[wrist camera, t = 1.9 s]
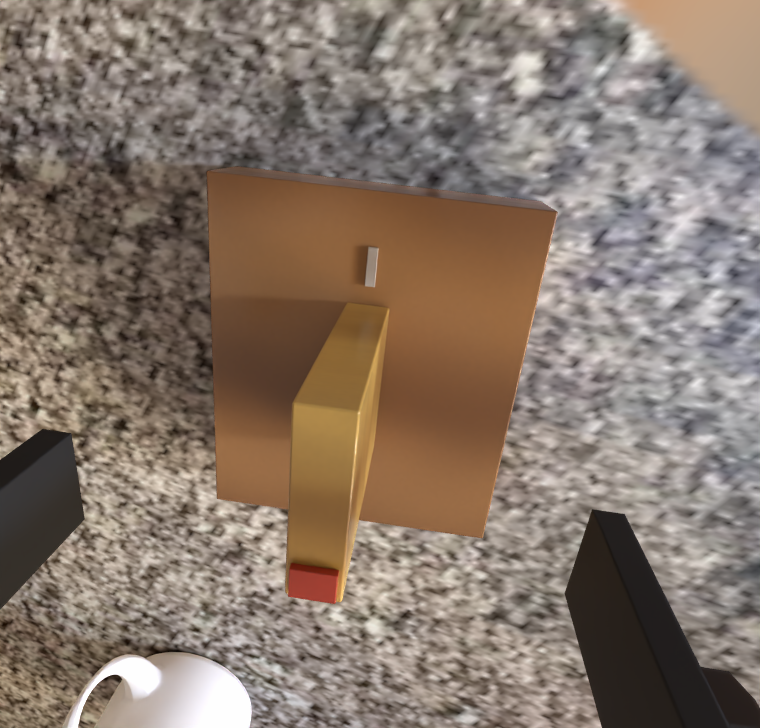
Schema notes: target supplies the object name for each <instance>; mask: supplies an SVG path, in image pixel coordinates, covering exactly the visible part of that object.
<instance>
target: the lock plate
mask: <svg viewBox="0 0 760 728" xmlns="http://www.w3.org/2000/svg"><path fill="white" fill-rule="evenodd" d="M207 201H208V233H209V264H210V296H211V327H212V359H213V391H214V422H215V454H216V485H217V499H222V500H228V501H235V502H242V503H249V504H255V505H262V506H269V507H275V508H282V509H288V499H289V472H290V444H291V417H292V403H293V401H294V399H295V397H296V396H297V394H298V392H299V390H300V388H301V386H302V384H303V383H304V381H305V379H306V377H307V375H308V373H309V372H310V370H311V368H312V366H313V364H314V362H315V361H316V359H317V357H318V355H319V353H320V351H321V350H322V348H323V346H324V344H325V342H326V340H327V339H328V337H329V335H330V333H331V331H332V329H333V328H334V326H335V324H336V322H337V320H338V318H339V316H340V315H341V313H342V311H343V309H344V307H345V305H346V304H347V303H355V304H363V305H371V306H379V307H386V308H389V317H388V326H387V335H386V344H385V353H384V362H383V370H382V379H381V388H380V397H379V406H378V415H377V424H376V432H375V441H374V448H373V453H372V458H371V463H370V467H369V472H368V477H367V482H366V487H365V492H364V497H363V502H362V506H361V511H360V516H359V520H363V521H369V522H376V523H383V524H390V525H396V526H403V527H410V528H416V529H423V530H430V531H437V532H443V533H450V534H457V535H463V536H470V537H477V538H483V534H484V530H485V525H486V521H487V517H488V512H489V508H490V504H491V500H492V495H493V491H494V487H495V482H496V478H497V474H498V469H499V465H500V461H501V456H502V452H503V448H504V443H505V439H506V435H507V430H508V426H509V422H510V417H511V413H512V409H513V404H514V400H515V396H516V391H517V387H518V383H519V378H520V374H521V370H522V365H523V361H524V357H525V353H526V348H527V344H528V340H529V335H530V331H531V327H532V322H533V318H534V314H535V309H536V305H537V301H538V296H539V292H540V288H541V283H542V279H543V275H544V270H545V266H546V262H547V257H548V253H549V249H550V244H551V240H552V236H553V231H554V227H555V223H556V218H557V214H558V212H557V211H555V210H554V209H552V208H551V207H549V206H547V205H546V204H544V203H543V202H541V201H534V200H525V199H516V198H508V197H499V196H490V195H482V194H473V193H464V192H456V191H447V190H438V189H430V188H421V187H412V186H404V185H395V184H386V183H378V182H369V181H360V180H352V179H343V178H334V177H326V176H317V175H308V174H300V173H291V172H282V171H274V170H265V169H256V168H248V167H239V166H236V167H230V168H223V169H216V170H210V171H207Z"/></svg>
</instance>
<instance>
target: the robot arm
mask: <svg viewBox="0 0 760 728" xmlns="http://www.w3.org/2000/svg"><path fill="white" fill-rule="evenodd" d="M84 519H85V518H84V512H83V506H82V499H81V493H80V486H79V480H78V474H77V467H76V461H75V454H74V448H73V442H72V435H71V433H66V432H59V431H52V430H45V429H42V430H41V431H39V432H38V433H36V434H35V435H34V436H32V437H31V438H30V439H28V440H27V441H25V442H24V443H23V444H21V445H20V446H19V447H17V448H16V449H15V450H13V451H12V452H10V453H9V454H8V455H6V456H5V457H4V458H2V459H1V460H0V609H1V608H2V607H3V606H4V605H5V604H6V603H7V602H8V601H9V600H10V599H11V597H12V596H13V595H14V594H15V593H16V592H17V591H18V590H19V589H20V588H21V587H22V586H23V585H24V584H25V582H26V581H27V580H28V579H29V578H30V577H31V576H32V575H33V574H34V573H35V572H36V571H37V570H38V569H39V567H40V566H41V565H42V564H43V563H44V562H45V561H46V560H47V559H48V558H49V557H50V556H51V555H52V554H53V552H54V551H55V550H56V549H57V548H58V547H59V546H60V545H61V544H62V543H63V542H64V541H65V540H66V539H67V537H68V536H69V535H70V534H71V533H72V532H73V531H74V530H75V529H76V528H77V527H78V526H79V525H80V524H81V522H82V521H83V520H84ZM565 596H566V600H567V603H568V607H569V611H570V614H571V618H572V621H573V625H574V629H575V632H576V636H577V639H578V643H579V647H580V650H581V654H582V657H583V661H584V665H585V668H586V672H587V675H588V679H589V683H590V686H591V690H592V693H593V697H594V701H595V704H596V708H597V711H598V715H599V719H600V722H601V726H602V728H760V708H759V706H758V704H757V702H756V701H755V699H754V698H753V697H752V696H751V695H750V694H749V693H748V692H747V691H746V690H745V689H744V687H743V686H742V685H741V684H740V683H739V682H738V681H737V680H736V679H735V678H734V677H733V676H732V674H731V673H730V672H729V671H722V670H716V669H710V668H704V667H700V665H699V663H698V661H697V659H696V657H695V655H694V653H693V651H692V649H691V647H690V645H689V643H688V641H687V639H686V637H685V635H684V633H683V631H682V629H681V627H680V625H679V623H678V621H677V619H676V617H675V615H674V613H673V611H672V609H671V607H670V605H669V603H668V601H667V599H666V597H665V595H664V593H663V591H662V589H661V587H660V585H659V583H658V581H657V579H656V577H655V574H654V572H653V570H652V568H651V566H650V564H649V562H648V560H647V558H646V556H645V554H644V552H643V550H642V548H641V546H640V544H639V542H638V540H637V538H636V536H635V534H634V532H633V530H632V528H631V526H630V524H629V522H628V520H627V518H626V516H625V514H620V513H613V512H606V511H600V510H593V509H592V512H591V515H590V518H589V521H588V524H587V527H586V530H585V533H584V536H583V539H582V542H581V546H580V549H579V552H578V555H577V558H576V561H575V564H574V567H573V570H572V573H571V576H570V579H569V582H568V585H567V588H566V591H565Z"/></svg>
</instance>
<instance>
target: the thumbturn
mask: <svg viewBox="0 0 760 728" xmlns="http://www.w3.org/2000/svg"><path fill="white" fill-rule="evenodd" d="M388 317H389V308H386V307H379V306H371V305H363V304H355V303H347V304H346V305H345V307H344V309H343V311H342V313H341V315H340V316H339V318H338V320H337V322H336V324H335V326H334V328H333V329H332V331H331V333H330V335H329V337H328V339H327V340H326V342H325V344H324V346H323V348H322V350H321V351H320V353H319V355H318V357H317V359H316V361H315V362H314V364H313V366H312V368H311V370H310V372H309V373H308V375H307V377H306V379H305V381H304V383H303V384H302V386H301V388H300V390H299V392H298V394H297V396H296V397H295V399H294V401H293V403H292V417H291V444H290V472H289V499H288V526H287V553H286V580H285V592H286V593H287V594H288V597H294V598H300V599H307V600H313V601H319V602H326V603H332V604H335V603H336V601H337V602H341V601H342V599H343V594H344V589H345V584H346V579H347V575H348V570H349V565H350V560H351V555H352V550H353V545H354V540H355V536H356V531H357V526H358V521H359V516H360V511H361V506H362V502H363V497H364V492H365V487H366V482H367V477H368V472H369V467H370V463H371V458H372V453H373V448H374V441H375V432H376V424H377V415H378V406H379V397H380V388H381V379H382V370H383V362H384V353H385V344H386V335H387V326H388Z"/></svg>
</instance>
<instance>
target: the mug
mask: <svg viewBox="0 0 760 728" xmlns="http://www.w3.org/2000/svg"><path fill="white" fill-rule="evenodd" d="M110 675H119V676H120V677H121V678H122V681H121V683H120V684H119V686H118V687H117V689H116V691H115V692H114V694H113V696H112V697H111V699H110V701H109V702H108V704H107V706H106V708H105V709H104V711H103V713H102V714H101V716H100V718H99V720H98V721H97V723H96V725H95V726H94V728H249V727H250V722H251V713H252V710H251V702H250V698H249V695H248V693H247V691H246V689H245V688H244V686H243V685H242V683H241V682H240V681H239V679H238V678H237V677H236V676H235V675H234V674H233V673H232V672H230V671H229V670H228V669H226V668H225V667H223V666H222V665H220V664H218V663H216V662H214V661H212V660H210V659H207V658H205V657H202V656H199V655H195V654H190V653H184V652H165V653H160V654H155V655H152V656H149V657H147V658H144V657H141V656H138V655H132V654H127V655H122V656H119V657H116V658H114V659H112V660H111V661H109V662H108V663H106V664H105V665H104V666H103V667H102V668H101V669H99V670H98V672H97V673H96V674H95V675H94V676H93V677H92V678H91V679H90V681H89V682H88V683H87V685H86V686H85V687H84V689H83V690H82V692H81V693H80V694H79V696H78V697H77V699H76V701H75V702H74V704H73V706H72V707H71V709H70V711H69V713H68V715H67V717H66V719H65V721H64V723H63V726H62V728H78V724H79V718H80V715H81V712H82V709H83V706H84V704H85V701H86V699H87V697H88V695H89V694H90V692H91V691H92V689H93V688H94V687H95V686H96V685H97V684H98V683H99V682H100V681H101V680H103V679H104V678H106V677H108V676H110Z"/></svg>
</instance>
